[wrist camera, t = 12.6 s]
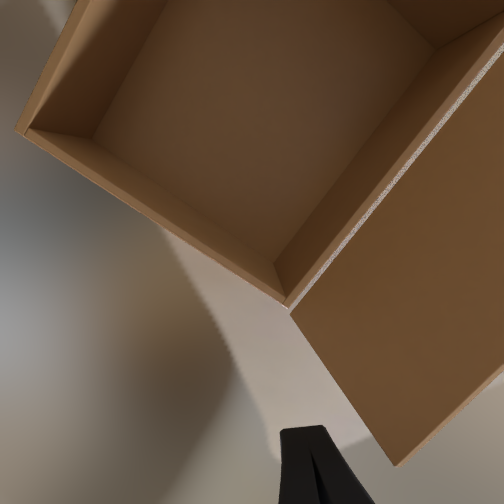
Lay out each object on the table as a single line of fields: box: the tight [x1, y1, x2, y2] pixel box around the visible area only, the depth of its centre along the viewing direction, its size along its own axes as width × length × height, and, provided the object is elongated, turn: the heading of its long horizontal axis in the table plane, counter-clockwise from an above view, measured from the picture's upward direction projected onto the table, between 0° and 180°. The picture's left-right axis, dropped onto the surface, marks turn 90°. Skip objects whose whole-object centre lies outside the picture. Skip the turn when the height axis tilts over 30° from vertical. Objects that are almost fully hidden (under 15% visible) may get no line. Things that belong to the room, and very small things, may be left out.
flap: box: [290, 52, 504, 467], centre depth 9 cm, size 15×6×1 cm
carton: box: [14, 0, 504, 308], centre depth 13 cm, size 15×13×5 cm
